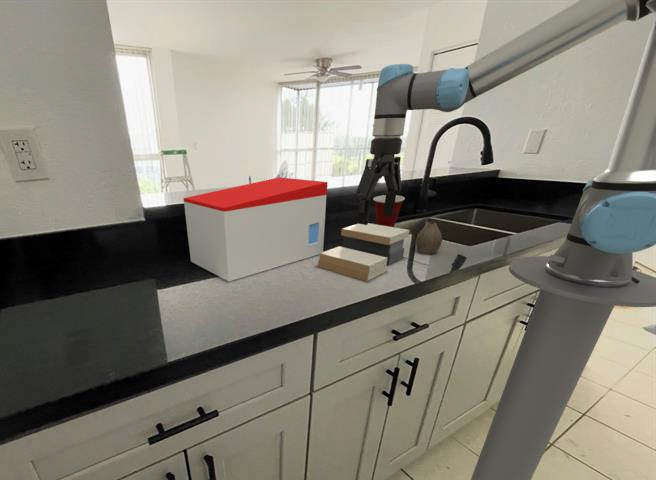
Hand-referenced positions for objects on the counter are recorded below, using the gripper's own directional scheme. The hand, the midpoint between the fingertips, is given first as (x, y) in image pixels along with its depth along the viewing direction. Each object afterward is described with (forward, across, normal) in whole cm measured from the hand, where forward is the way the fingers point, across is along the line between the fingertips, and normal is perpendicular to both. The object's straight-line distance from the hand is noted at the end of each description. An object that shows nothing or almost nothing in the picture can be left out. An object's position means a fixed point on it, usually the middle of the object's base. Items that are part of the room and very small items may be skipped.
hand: (375, 220), depth 95 cm
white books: (+11, +14, +2) cm, 18 cm away
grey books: (+11, 0, 0) cm, 11 cm away
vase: (+11, -14, +10) cm, 20 cm away
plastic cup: (+11, -31, -13) cm, 35 cm away
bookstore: (+11, +24, -23) cm, 35 cm away
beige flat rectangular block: (+5, 0, 0) cm, 5 cm away
